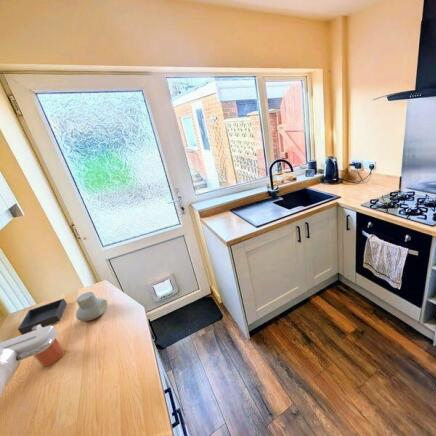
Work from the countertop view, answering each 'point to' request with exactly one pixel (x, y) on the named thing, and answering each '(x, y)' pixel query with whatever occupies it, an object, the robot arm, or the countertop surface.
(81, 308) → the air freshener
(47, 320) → the tray
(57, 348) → the tumbler
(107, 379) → the countertop surface
